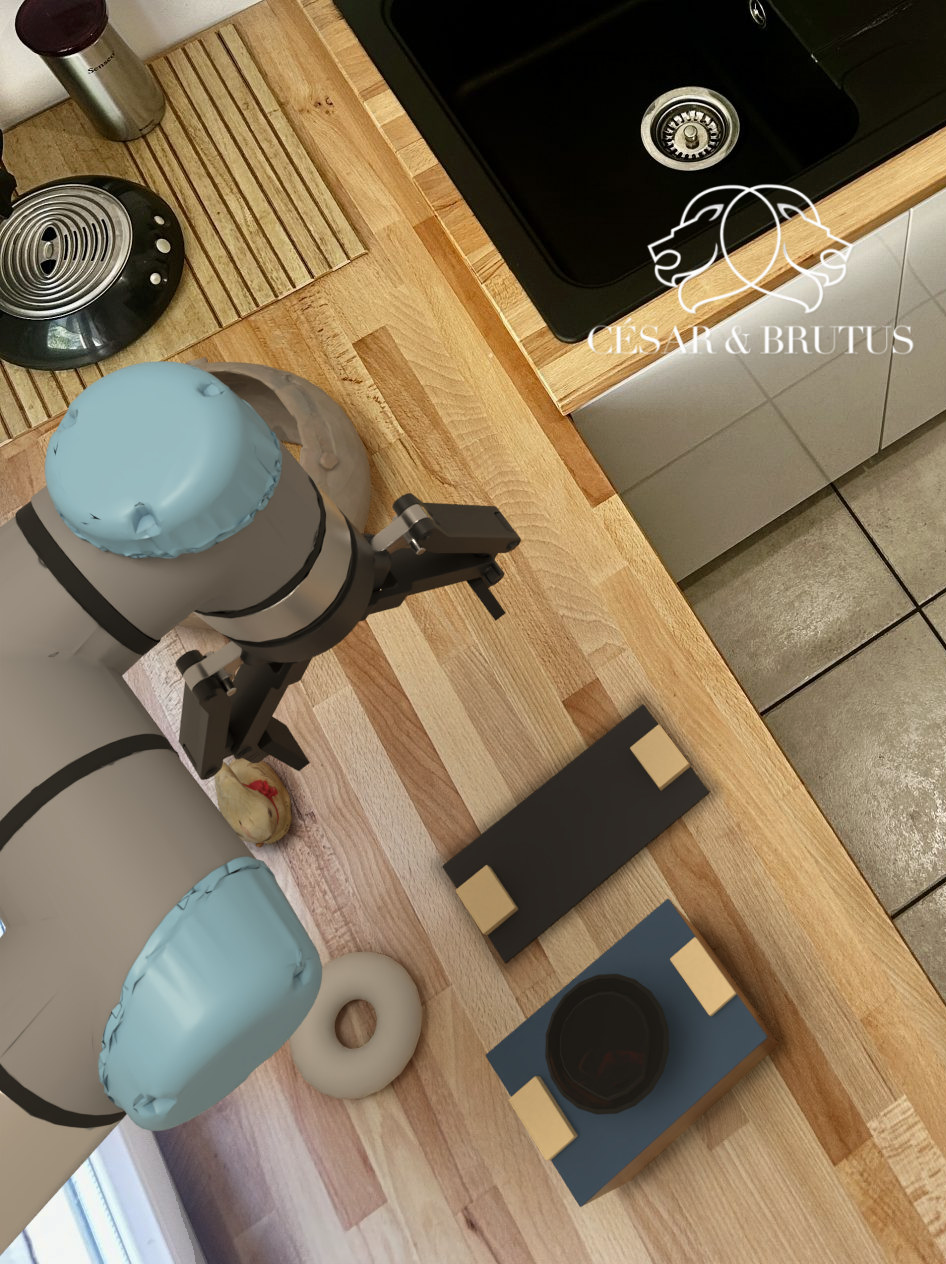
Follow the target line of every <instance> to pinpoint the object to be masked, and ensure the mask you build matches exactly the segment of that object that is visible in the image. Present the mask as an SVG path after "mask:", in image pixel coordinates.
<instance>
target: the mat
mask: <svg viewBox="0 0 946 1264" xmlns="http://www.w3.org/2000/svg"><path fill="white" fill-rule="evenodd" d="M708 794H710V791H709V789H708V788H707V786H706V785H705V783H704V782H703V781H702V780H701V779H700V777H699V776H698V775H697V773H696V771H694V769H693V768H692V767H691V765H690V762H689V761H688V760H687V759H686V758H685V755H684V754H683V753H682V752H681V751H680V749H679V748H678V747H677V745H676V744H675V743H674V742H673V740H672V739H671V737H670V736H669V735H668V733H667V732H666V730H664V728H663V727H662V725H661V724H660V723H658V722H657V720H656V719H655V718H654V716H653V715H652V714H651V713H650V711H649V709H648V708H647V707H646V705H645V704H643V703H642V704H641V705H639V706H638V707H637V708H636V709H634V711H632V712H631V713H630V714H628V715H627V716H626V717H625V718H623V719H622V720H621V721H620V722H618V723H617V724H616V725H615V726H614V727H612V728H611V729H610V730H608V731H607V732H606V733H605V734H604V735H603V736H601V737H599V738H598V739H597V740H596V741H595V742H594V743H592V744H591V745H590V746H589V747H588V748H586V749H585V750H584V751H583V752H581V753H580V754H578V756H577V757H575V758H574V759H573V760H571V761H570V762H569V763H567V764H566V765H565V766H564V767H562V768H561V769H560V770H559V771H558V772H556V773H555V774H554V775H553V776H551V777H550V778H549V779H548V780H546V781H545V782H544V783H543V784H542V785H540V786H539V787H538V788H537V789H535V790H534V791H533V792H532V793H531V794H529V795H528V796H527V797H526V798H524V799H523V800H522V801H521V802H519V803H518V804H517V805H516V806H514V807H513V808H512V809H511V810H510V811H509V812H507V813H506V814H505V815H503V816H502V817H500V819H498V820H497V821H496V822H495V823H493V824H492V825H491V826H490V827H489V828H487V829H486V830H485V831H484V832H482V833H481V834H480V835H478V837H476V838H474V840H472V841H471V842H470V843H469V844H467V845H466V846H465V847H464V848H463V849H461V850H460V851H459V852H458V853H456V854H455V855H454V856H453V857H451V858H450V859H449V860H448V861H446V862H445V863H444V864H443V865H442V869H443V870H444V872H445V873H446V875H447V877H448V878H449V880H450V881H451V883H452V885H454V887H455V890H454V892H455V893H456V895H457V896H458V898H459V899H460V901H461V902H462V904H463V906H464V907H465V909H466V910H467V912H468V913H469V915H470V916H471V918H472V919H473V921H474V923H475V924H476V926H477V927H478V929H479V930H480V931H481V933H482V935H485V936H487V938H488V939H489V941H490V942H491V944H492V946H493V947H494V949H495V951H496V952H497V953H498V955H499V956H500V958H501V960H502V961H503V962H504V964H508V963H509V962H510V961H512V960H513V959H514V958H515V957H516V956H518V954H520V953H522V951H524V949H526V948H527V947H528V946H530V944H532V943H533V942H534V941H535V940H537V939H538V938H539V937H540V936H541V935H543V934H544V933H545V932H546V931H547V930H548V929H549V928H551V927H552V926H553V925H554V924H556V923H557V922H558V921H560V919H561V918H563V917H564V916H565V915H567V913H569V912H570V911H571V910H572V909H573V908H575V907H576V906H577V905H578V904H579V903H580V902H581V901H583V900H584V899H585V898H587V896H589V895H590V894H591V893H592V892H594V891H595V890H596V889H597V888H599V886H601V885H602V884H604V882H606V881H607V880H608V879H609V878H610V877H611V876H613V875H614V874H615V873H616V872H618V871H619V870H620V869H621V868H622V867H624V866H625V864H627V863H628V862H629V861H631V859H633V858H634V857H635V856H637V854H639V853H640V852H641V851H642V850H643V849H645V848H646V847H647V846H648V845H649V844H651V842H653V841H654V840H655V839H657V838H658V837H659V836H660V835H661V834H662V833H664V832H665V831H666V830H667V829H668V828H669V827H671V826H672V825H673V824H674V823H676V822H677V821H678V820H679V819H680V818H682V817H683V816H684V815H685V814H686V813H688V812H689V811H690V810H691V809H692V808H693V807H694V806H696V805H697V804H698V803H699V802H700V801H702V800H703V799H704V798H706V796H708Z"/></svg>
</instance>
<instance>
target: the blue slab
mask: <svg viewBox="0 0 946 1264" xmlns="http://www.w3.org/2000/svg"><path fill="white" fill-rule="evenodd" d="M672 903H673V902H672V900H670V899H669V898H666V899H665V900H664V901H662V903H660V904H659V905H658V906H657V907H656V908H654V909H653V911H651V912H650V913H649V914H648V915H646V917H644V918H643V919H642V920H641V921H640V922H638V923H637V924H635V926H634V927H632V928H631V929H630V930H629V931H628V932H627V933H625V934H624V935H623V936H622V937H620V939H619V940H618V941H616V942H615V943H614V944H612V945H611V947H609V948H608V949H607V950H606V951H604V952H603V953H602V954H601V955H599V956H598V958H596V959H595V960H594V961H593V962H592V963H590V965H587V967H585V969H584V970H582V971H581V972H580V973H579V974H577V976H575V977H574V978H573V979H572V980H571V981H569V982H568V983H567V984H566V985H565V986H563V987H562V989H560V990H559V991H558V992H557V993H555V994H554V995H553V996H551V998H550V999H549V1000H547V1001H546V1002H545V1003H544V1004H543V1005H542V1006H540V1007H539V1008H538V1009H537V1010H535V1012H533V1014H531V1015H530V1016H529V1017H528V1018H526V1019H525V1020H524V1021H523V1022H521V1023H520V1024H519V1025H518V1026H517V1027H515V1029H514V1030H512V1031H511V1032H510V1033H509V1034H507V1036H505V1037H504V1038H503V1039H502V1040H501V1041H500V1042H498V1043H497V1044H496V1045H495V1046H494V1047H492V1048H491V1049H490V1050H489V1051H488V1052H487V1053H485V1058H486V1059H487V1061H488V1062H489V1065H490V1066H491V1067H492V1069H493V1070H494V1072H495V1074H496V1075H497V1077H498V1079H499V1081H500V1082H501V1083H502V1085H503V1086H504V1088H505V1090H506V1091H507V1093H508V1094H509V1096H510V1097H509V1098H508V1102H509V1104H510V1105H511V1107H512V1108H513V1110H514V1113H516V1116H517V1117H518V1118H519V1121H520V1122H521V1123H522V1125H523V1127H524V1128H525V1130H526V1132H527V1133H528V1135H529V1136H530V1138H531V1139H532V1141H533V1142H534V1144H535V1146H536V1147H537V1149H538V1150H539V1152H540V1153H541V1155H542V1158H544V1160H545V1161H546V1162H548V1161H550V1162H551V1163H552V1165H553V1166H554V1168H555V1169H556V1171H557V1173H558V1174H559V1176H560V1177H561V1179H562V1181H563V1182H564V1184H565V1185H566V1187H567V1189H568V1190H569V1192H570V1194H571V1195H572V1197H573V1199H574V1200H575V1201H576V1203H577V1205H578V1206H579V1208H582V1207H584V1206H585V1205H584V1204H585V1203H586V1202H587V1201H589V1200H590V1199H591V1198H592V1197H593V1196H594V1195H595V1194H596V1193H597V1192H598V1191H600V1190H601V1189H602V1188H603V1187H604V1186H605V1185H606V1184H607V1183H608V1182H609V1181H611V1180H612V1179H613V1178H614V1177H615V1176H616V1175H617V1174H618V1173H619V1172H620V1171H622V1170H623V1169H624V1168H625V1167H626V1166H627V1165H628V1164H629V1163H630V1162H631V1161H633V1160H634V1159H635V1158H636V1157H637V1156H638V1155H639V1154H640V1153H641V1152H642V1151H644V1150H645V1149H646V1148H647V1147H648V1146H649V1145H650V1144H651V1143H652V1142H653V1141H655V1140H656V1139H657V1138H658V1137H659V1136H660V1135H661V1134H662V1133H663V1132H664V1131H666V1130H667V1129H668V1128H669V1127H670V1126H671V1125H672V1124H673V1123H674V1122H675V1121H677V1120H678V1119H679V1118H680V1117H681V1116H682V1115H683V1114H684V1113H685V1112H686V1111H688V1110H689V1109H690V1108H691V1107H692V1106H693V1105H694V1104H695V1103H696V1102H697V1101H699V1100H700V1099H701V1098H702V1097H703V1096H704V1095H705V1094H706V1093H707V1092H708V1091H710V1090H711V1089H712V1088H713V1087H714V1086H715V1085H716V1084H717V1083H718V1082H719V1081H720V1080H722V1079H723V1078H724V1077H725V1076H726V1075H727V1074H728V1073H729V1072H730V1071H731V1070H733V1069H734V1068H735V1067H736V1066H737V1065H738V1064H739V1063H740V1062H741V1061H742V1060H744V1059H745V1058H746V1057H747V1056H748V1055H749V1054H750V1053H751V1052H752V1051H753V1050H755V1049H756V1048H757V1047H758V1046H759V1045H760V1044H761V1043H762V1042H763V1041H764V1040H766V1039H767V1035H766V1034H765V1032H764V1031H763V1030H762V1028H761V1027H760V1025H759V1024H758V1023H757V1021H756V1020H755V1018H754V1017H753V1016H752V1014H751V1013H750V1011H749V1010H748V1009H747V1007H746V1006H745V1004H744V1003H743V1002H742V1000H741V999H740V997H739V996H738V995H737V993H736V992H735V990H734V989H733V988H732V986H731V985H730V983H729V982H728V981H727V979H726V978H725V976H724V975H723V974H722V972H721V971H720V970H719V968H718V967H717V965H716V964H715V963H714V961H713V960H712V958H711V957H710V956H709V954H708V953H707V951H706V950H705V949H704V947H703V946H702V944H701V943H700V942H699V940H698V939H697V937H696V936H695V935H694V933H693V932H692V930H691V929H690V928H689V926H688V925H687V923H686V922H685V921H684V919H683V918H682V916H681V915H680V914H679V912H678V911H677V909H676V908H675V907H674V905H675V904H674V903H673V904H674V905H673V904H672ZM601 974H620V975H623V976H626V977H629V978H632V979H635V980H637V981H638V982H639V983H641V984H642V985H643V986H645V987H646V988H647V989H649V990H650V991H651V992H652V993H653V995H654V996H655V998H656V999H657V1001H658V1002H659V1004H660V1005H661V1007H662V1008H663V1011H664V1015H665V1018H666V1021H667V1024H668V1028H669V1053H668V1057H667V1061H666V1064H665V1068H664V1072H663V1074H662V1075H661V1077H660V1079H659V1080H658V1082H657V1084H656V1085H655V1087H654V1089H653V1090H652V1092H651V1093H649V1094H648V1095H647V1096H646V1097H645V1098H644V1099H643V1100H642V1101H640V1102H639V1103H638V1104H637V1105H636V1106H634V1107H631V1108H629V1109H627V1110H624V1111H622V1112H620V1113H617V1114H599V1115H597V1114H594V1113H591V1112H588V1111H584V1110H581V1109H578V1108H577V1107H576V1106H574V1105H573V1104H572V1103H571V1102H569V1101H568V1100H567V1099H566V1098H564V1097H563V1096H562V1095H561V1093H560V1092H559V1090H558V1088H557V1087H556V1085H555V1084H554V1082H553V1080H552V1079H551V1077H550V1073H549V1069H548V1065H547V1062H546V1058H545V1045H546V1032H547V1029H548V1026H549V1022H550V1019H551V1016H552V1013H553V1011H554V1010H555V1008H556V1007H557V1005H558V1004H559V1002H560V1001H561V999H562V998H563V996H564V995H565V994H566V993H567V992H569V991H570V990H571V989H572V988H573V987H574V986H576V985H577V984H578V983H579V982H581V981H584V980H586V979H588V978H591V977H593V976H596V975H601ZM583 1205H584V1206H583Z"/></svg>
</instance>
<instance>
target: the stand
mask: <svg viewBox="0 0 946 1264" xmlns="http://www.w3.org/2000/svg"><path fill="white" fill-rule="evenodd" d="M672 904H673V905H674V907H675V908H676V909H677V911H678V912H679V914H680V915H681V916H682V918H683V919H684V921H685V922H686V923H687V925H688V926H689V928H690V929H691V930H692V932H693V933H694V935H695V936H696V937H697V939H698V940H699V942H700V943H701V944H702V946H703V947H704V949H705V950H706V951H707V953H708V954H709V956H710V957H711V958H712V960H713V961H714V963H715V964H716V965H717V967H718V968H719V970H720V971H721V972H722V974H723V975H724V976H725V978H726V979H727V981H728V982H729V983H730V985H731V986H732V988H733V989H734V990H735V992H736V993H737V995H738V996H739V997H740V999H741V1000H742V1002H743V1003H744V1004H745V1006H746V1007H747V1009H748V1010H749V1011H750V1013H751V1014H752V1016H753V1017H754V1018H755V1020H756V1021H757V1023H758V1024H759V1025H760V1027H761V1028H762V1030H763V1031H764V1032H765V1034H766V1035H767V1039H766V1040H764V1041H763V1042H762V1043H761V1044H760V1045H759V1046H758V1047H757V1048H756V1049H755V1050H753V1051H752V1052H751V1053H750V1054H749V1055H748V1056H747V1057H746V1058H745V1059H744V1060H742V1061H741V1062H740V1063H739V1064H738V1065H737V1066H736V1067H735V1068H734V1069H733V1070H731V1071H730V1072H729V1073H728V1074H727V1075H726V1076H725V1077H724V1078H723V1079H722V1080H720V1081H719V1082H718V1083H717V1084H716V1085H715V1086H714V1087H713V1088H712V1089H711V1090H710V1091H708V1092H707V1093H706V1094H705V1095H704V1096H703V1097H702V1098H701V1099H700V1100H699V1101H697V1102H696V1103H695V1104H694V1105H693V1106H692V1107H691V1108H690V1109H689V1110H688V1111H686V1112H685V1113H684V1114H683V1115H682V1116H681V1117H680V1118H679V1119H678V1120H677V1121H675V1122H674V1123H673V1124H672V1125H671V1126H670V1127H669V1128H668V1129H667V1130H666V1131H664V1132H663V1133H662V1134H661V1135H660V1136H659V1137H658V1138H657V1139H656V1140H655V1141H653V1142H652V1143H651V1144H650V1145H649V1146H648V1147H647V1148H646V1149H645V1150H644V1151H642V1152H641V1153H640V1154H639V1155H638V1156H637V1157H636V1158H635V1159H634V1160H633V1161H631V1162H630V1163H629V1164H628V1165H627V1166H626V1167H625V1168H624V1169H623V1170H622V1171H620V1172H619V1173H618V1174H617V1175H616V1176H615V1177H614V1178H613V1179H612V1180H611V1181H609V1182H608V1183H607V1184H606V1185H605V1186H604V1187H603V1188H602V1189H601V1190H600V1191H598V1192H597V1193H596V1194H595V1195H594V1196H593V1197H592V1198H591V1199H590V1200H589V1201H587V1202H586V1203H585V1204H584V1205H583V1206H582V1207H584V1206H585V1205H588V1204H590V1203H591V1202H593V1201H595V1200H597V1199H599V1198H601V1197H603V1196H604V1195H607V1194H608V1193H611V1192H612V1191H614V1190H615V1189H618V1188H620V1187H621V1186H624V1185H625V1184H627V1183H629V1182H631V1181H632V1180H633V1179H634V1178H636V1176H637V1175H639V1174H640V1173H641V1172H642V1171H643V1170H644V1169H645V1168H646V1167H647V1166H648V1165H649V1164H651V1162H653V1161H654V1160H655V1159H656V1158H657V1157H658V1156H659V1155H660V1154H662V1152H664V1151H665V1150H666V1149H667V1148H668V1147H669V1146H671V1145H672V1144H673V1143H674V1141H676V1140H677V1139H678V1138H679V1137H680V1136H681V1135H682V1134H683V1133H684V1132H686V1131H687V1130H688V1129H689V1128H691V1127H692V1125H693V1124H694V1123H696V1121H697V1120H698V1119H700V1118H701V1117H702V1116H703V1115H704V1114H705V1113H707V1111H708V1110H710V1109H711V1108H712V1107H713V1106H714V1105H715V1104H716V1103H717V1102H719V1101H720V1100H721V1099H722V1098H723V1097H724V1096H725V1095H726V1094H727V1093H728V1092H729V1091H730V1090H732V1088H734V1087H735V1086H736V1085H737V1084H738V1083H740V1081H742V1079H743V1078H745V1077H746V1076H747V1075H748V1074H749V1073H750V1072H751V1071H752V1070H753V1069H754V1068H755V1067H756V1066H758V1065H759V1064H760V1063H761V1062H762V1061H763V1060H765V1059H766V1058H767V1057H768V1056H769V1055H770V1054H771V1053H772V1052H773V1051H774V1050H775V1049H777V1047H778V1046H780V1043H779V1041H778V1040H777V1039H776V1037H775V1036H774V1034H773V1033H772V1031H771V1030H770V1029H769V1028H768V1026H767V1024H766V1023H765V1022H764V1021H763V1019H762V1018H761V1016H760V1015H759V1013H758V1012H757V1011H756V1009H755V1008H754V1007H753V1005H752V1004H751V1003H750V1001H749V1000H748V998H747V997H746V995H745V994H744V993H743V991H742V990H741V988H740V987H739V986H738V984H737V983H736V982H735V980H734V979H733V977H732V976H731V975H730V973H729V971H728V970H727V969H726V968H725V966H724V965H723V963H722V962H721V960H720V959H719V958H718V957H717V955H716V954H715V951H713V949H712V948H711V946H710V945H709V944H708V942H707V941H706V940H705V937H704V936H703V935H702V934H701V932H700V931H699V930H698V929H697V928H696V927H695V926H694V925H693V924H692V922H690V921H689V919H688V918H687V917H686V916H685V915H684V914H683V913H682V912H681V911H680V909H679V908H678V907H677V906H676V905H675V904H674V903H673V902H672Z"/></svg>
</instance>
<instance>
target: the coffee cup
mask: <svg viewBox="0 0 946 1264" xmlns="http://www.w3.org/2000/svg"><path fill="white" fill-rule="evenodd" d="M668 1053H669V1028H668V1024H667V1021H666V1018H665V1015H664V1011H663V1008H662V1007H661V1005H660V1004H659V1002H658V1001H657V999H656V998H655V996H654V995H653V993H652V992H651V991H650V990H649V989H647V988H646V987H645V986H643V985H642V984H641V983H639V982H638V981H637V980H635V979H632V978H629V977H626V976H623V975H620V974H601V975H596V976H593V977H591V978H588V979H586V980H584V981H581V982H579V983H578V984H577V985H576V986H574V987H573V988H572V989H571V990H570V991H569V992H567V993H566V994H565V995H564V996H563V998H562V999H561V1001H560V1002H559V1004H558V1005H557V1007H556V1008H555V1010H554V1011H553V1013H552V1016H551V1019H550V1022H549V1026H548V1029H547V1032H546V1045H545V1058H546V1062H547V1065H548V1069H549V1073H550V1077H551V1079H552V1080H553V1082H554V1084H555V1085H556V1087H557V1088H558V1090H559V1092H560V1093H561V1095H562V1096H563V1097H564V1098H566V1099H567V1100H568V1101H569V1102H571V1103H572V1104H573V1105H574V1106H576V1107H577V1108H578V1109H581V1110H584V1111H588V1112H591V1113H594V1114H597V1115H599V1114H617V1113H620V1112H622V1111H624V1110H627V1109H629V1108H631V1107H634V1106H636V1105H637V1104H638V1103H639V1102H640V1101H642V1100H643V1099H644V1098H645V1097H646V1096H647V1095H648V1094H649V1093H651V1092H652V1090H653V1089H654V1087H655V1085H656V1084H657V1082H658V1080H659V1079H660V1077H661V1075H662V1074H663V1072H664V1068H665V1064H666V1061H667V1057H668Z"/></svg>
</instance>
